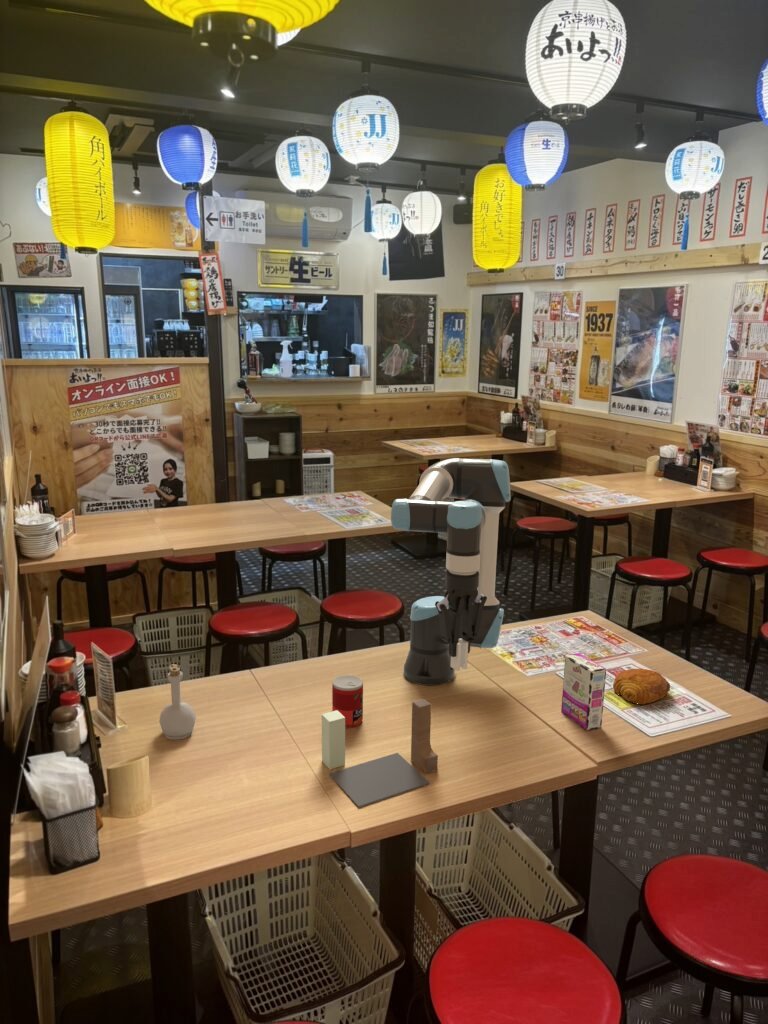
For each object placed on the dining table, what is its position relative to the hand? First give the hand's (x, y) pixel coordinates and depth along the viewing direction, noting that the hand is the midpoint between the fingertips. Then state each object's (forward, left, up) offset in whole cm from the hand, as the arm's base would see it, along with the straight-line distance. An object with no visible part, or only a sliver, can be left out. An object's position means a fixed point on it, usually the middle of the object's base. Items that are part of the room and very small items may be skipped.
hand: (458, 667), depth 170 cm
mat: (+21, 0, -22) cm, 31 cm away
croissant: (-65, -1, -23) cm, 69 cm away
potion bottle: (+55, -42, -23) cm, 73 cm away
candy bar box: (-39, +2, -23) cm, 45 cm away
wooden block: (+9, 0, -23) cm, 24 cm away
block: (+27, -11, -22) cm, 37 cm away
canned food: (+15, -27, -23) cm, 38 cm away
